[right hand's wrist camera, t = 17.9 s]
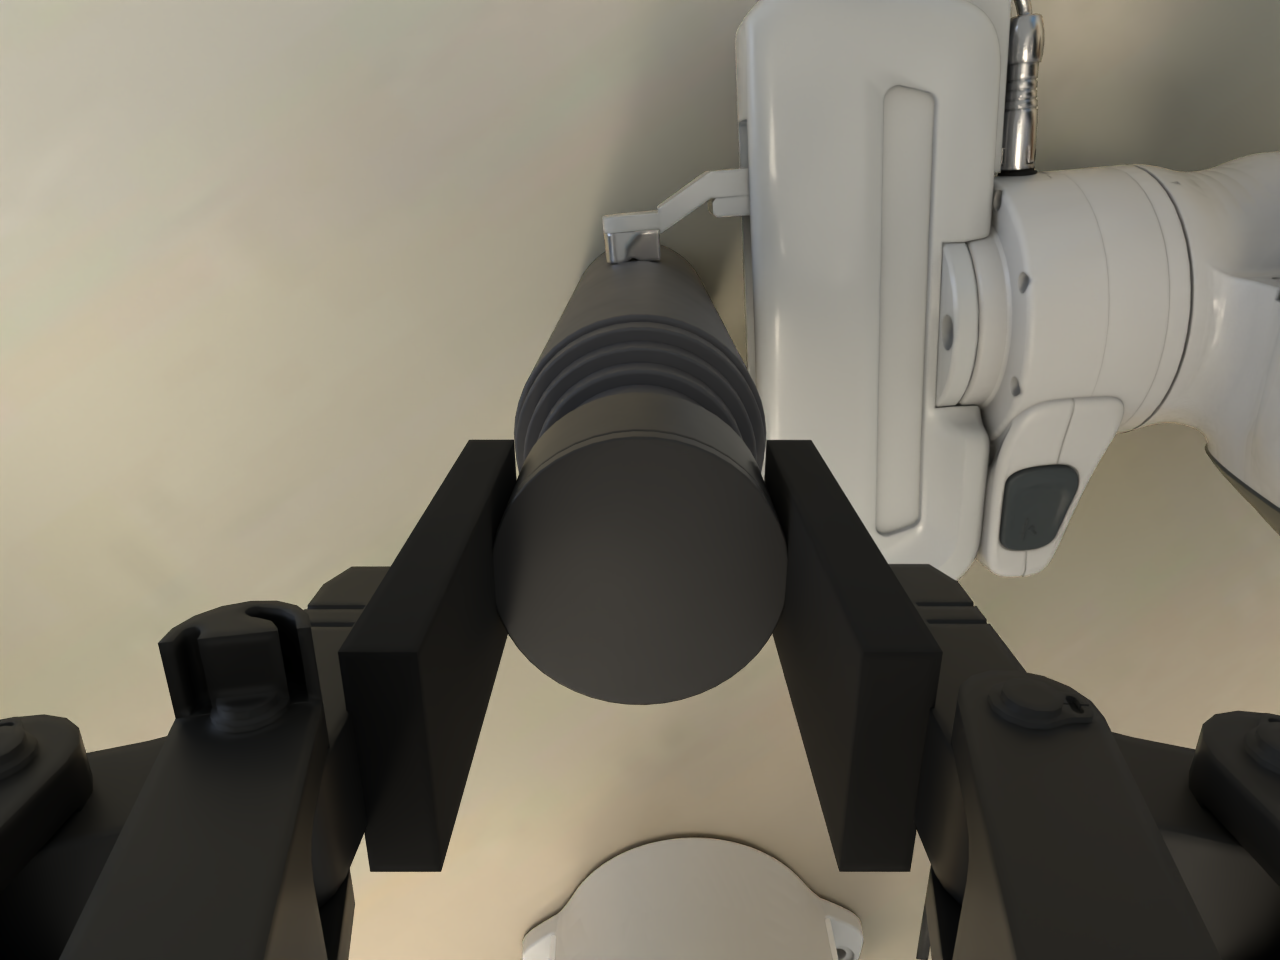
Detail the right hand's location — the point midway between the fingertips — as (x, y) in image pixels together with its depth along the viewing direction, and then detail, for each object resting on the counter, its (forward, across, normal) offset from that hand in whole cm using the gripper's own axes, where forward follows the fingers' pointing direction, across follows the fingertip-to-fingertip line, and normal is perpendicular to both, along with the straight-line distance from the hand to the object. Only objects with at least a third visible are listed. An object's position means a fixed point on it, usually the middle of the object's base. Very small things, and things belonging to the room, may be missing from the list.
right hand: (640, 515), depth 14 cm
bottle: (+21, 0, 0) cm, 21 cm away
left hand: (+15, -1, 0) cm, 15 cm away
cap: (-2, 0, 0) cm, 2 cm away
